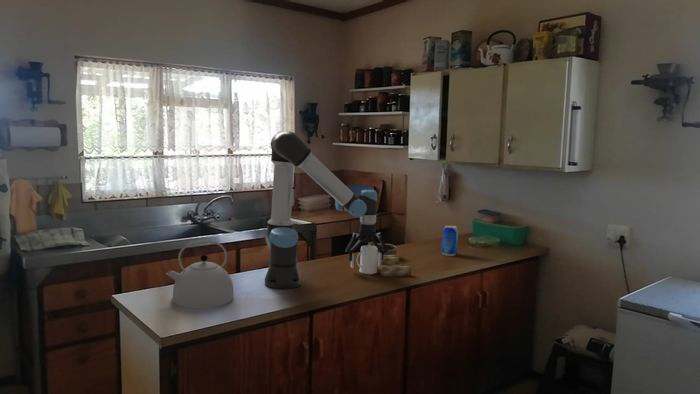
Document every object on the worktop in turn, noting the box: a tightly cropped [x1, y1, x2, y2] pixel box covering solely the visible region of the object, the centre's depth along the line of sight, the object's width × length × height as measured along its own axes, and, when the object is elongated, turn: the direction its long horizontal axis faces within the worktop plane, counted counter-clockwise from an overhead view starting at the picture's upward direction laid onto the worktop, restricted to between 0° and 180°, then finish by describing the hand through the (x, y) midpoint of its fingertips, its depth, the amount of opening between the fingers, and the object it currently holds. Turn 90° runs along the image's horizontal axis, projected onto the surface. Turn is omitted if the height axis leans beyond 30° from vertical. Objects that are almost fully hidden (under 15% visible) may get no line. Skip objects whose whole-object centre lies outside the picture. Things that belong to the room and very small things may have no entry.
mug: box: [355, 244, 378, 275], centre depth 241 cm, size 12×8×12 cm
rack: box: [377, 254, 412, 277], centre depth 247 cm, size 14×22×4 cm, turn 15°
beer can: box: [440, 224, 459, 257], centre depth 282 cm, size 8×8×16 cm
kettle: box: [165, 240, 235, 309], centre depth 194 cm, size 25×23×22 cm
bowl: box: [367, 242, 398, 256], centre depth 269 cm, size 14×18×10 cm
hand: (365, 267), depth 241 cm, fingers open, 13 cm apart
